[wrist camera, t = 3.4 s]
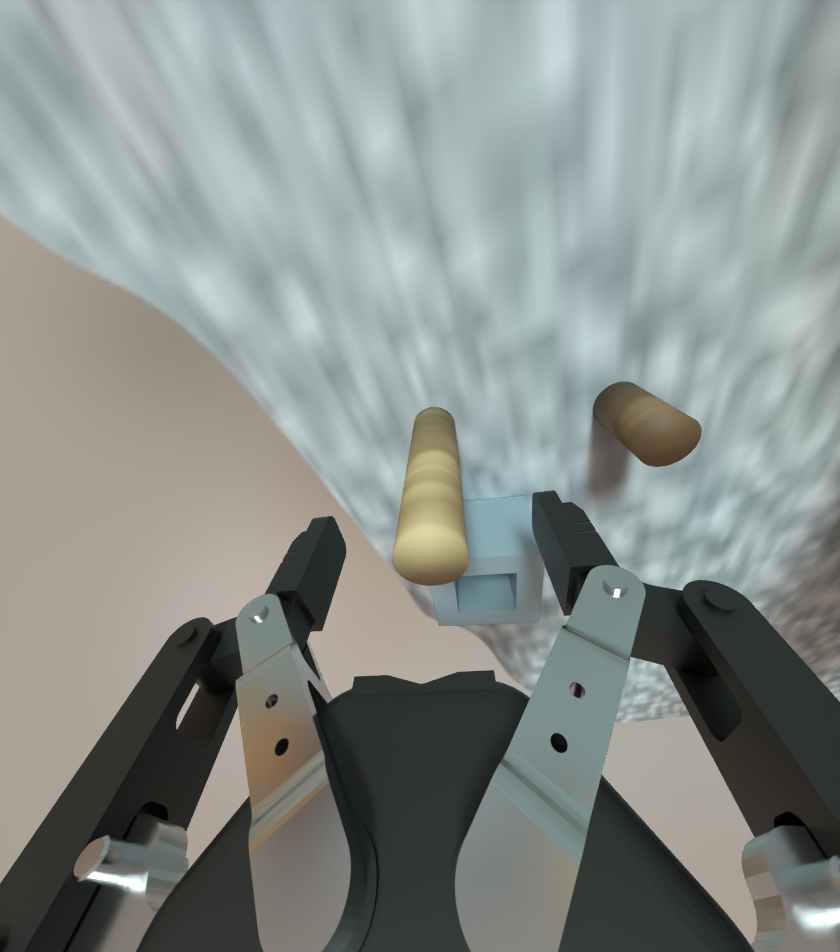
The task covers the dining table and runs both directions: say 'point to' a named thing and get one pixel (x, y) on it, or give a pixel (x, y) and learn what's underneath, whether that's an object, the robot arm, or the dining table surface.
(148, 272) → the dining table surface
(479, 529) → the hole block
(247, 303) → the dining table surface
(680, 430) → the short dowel
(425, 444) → the long dowel
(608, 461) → the dining table surface
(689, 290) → the dining table surface
